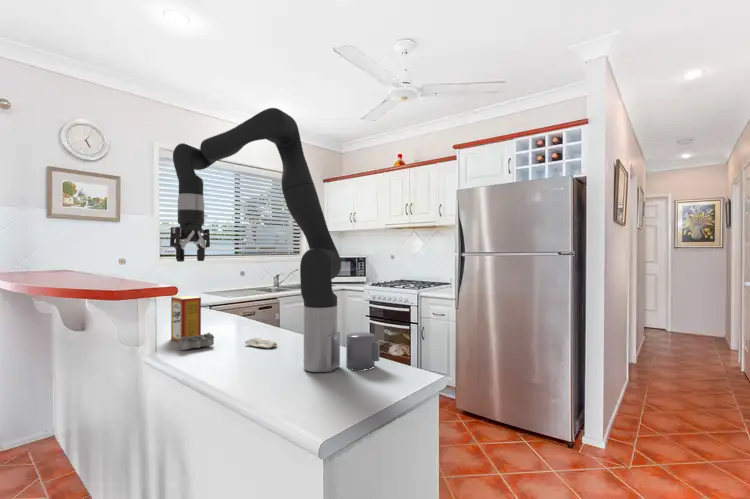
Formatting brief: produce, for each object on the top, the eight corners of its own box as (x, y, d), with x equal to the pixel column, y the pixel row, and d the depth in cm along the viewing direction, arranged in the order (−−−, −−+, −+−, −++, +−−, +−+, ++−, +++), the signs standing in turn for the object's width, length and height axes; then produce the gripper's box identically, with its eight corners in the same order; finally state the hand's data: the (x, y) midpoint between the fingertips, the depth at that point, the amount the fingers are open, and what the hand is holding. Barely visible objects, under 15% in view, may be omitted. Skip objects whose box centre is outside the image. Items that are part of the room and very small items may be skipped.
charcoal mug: (382, 365, 113) (383, 333, 113) (374, 373, 106) (374, 339, 106) (352, 362, 116) (352, 331, 116) (341, 369, 109) (341, 337, 109)
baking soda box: (171, 339, 145) (171, 296, 145) (189, 336, 150) (189, 294, 150) (182, 343, 139) (182, 298, 139) (200, 340, 144) (200, 296, 144)
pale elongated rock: (242, 343, 134) (249, 332, 137) (250, 349, 138) (256, 339, 140) (268, 349, 128) (274, 338, 131) (275, 356, 132) (282, 345, 134)
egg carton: (180, 350, 126) (179, 337, 126) (177, 347, 132) (176, 335, 132) (215, 345, 132) (215, 333, 132) (211, 342, 138) (210, 330, 138)
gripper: (183, 206, 116) (183, 262, 116) (216, 211, 129) (216, 260, 129) (163, 207, 118) (163, 261, 118) (197, 212, 132) (197, 260, 132)
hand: (190, 261), depth 124 cm, fingers open, 8 cm apart
